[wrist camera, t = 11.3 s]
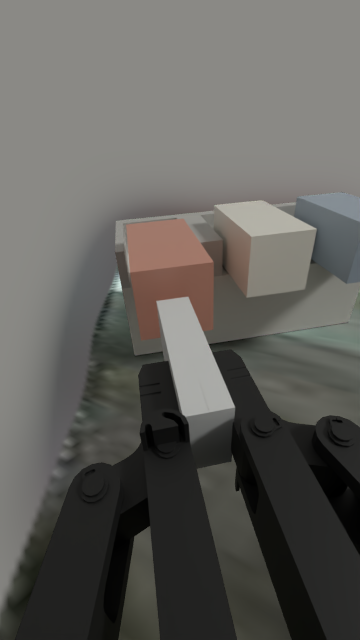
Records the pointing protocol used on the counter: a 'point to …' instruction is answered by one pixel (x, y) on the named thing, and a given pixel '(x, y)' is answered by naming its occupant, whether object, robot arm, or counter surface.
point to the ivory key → (264, 247)
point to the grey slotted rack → (230, 302)
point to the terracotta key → (168, 272)
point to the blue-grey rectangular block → (334, 232)
